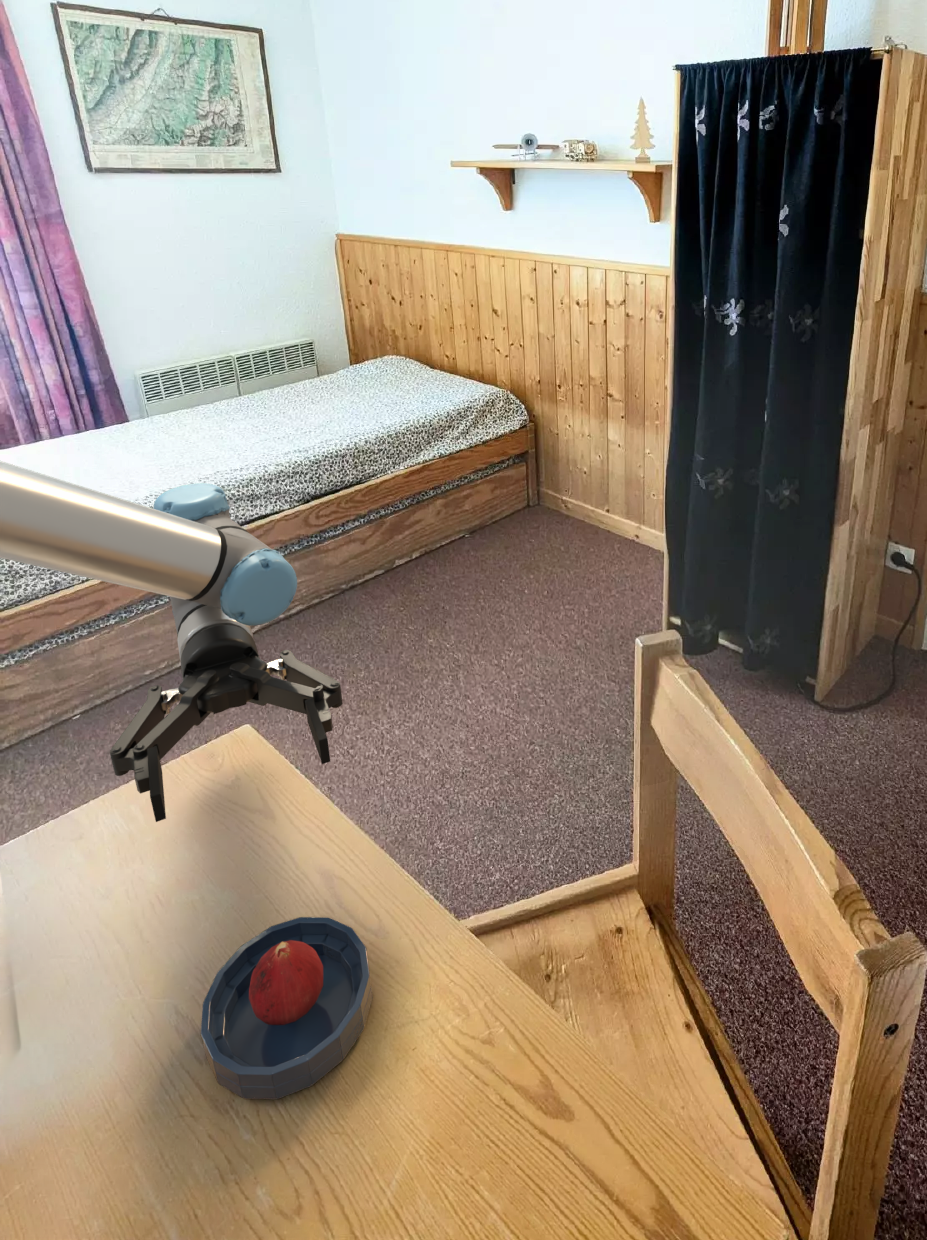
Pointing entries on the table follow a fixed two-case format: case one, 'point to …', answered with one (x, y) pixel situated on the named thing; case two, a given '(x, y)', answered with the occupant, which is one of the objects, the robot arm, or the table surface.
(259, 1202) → the table surface
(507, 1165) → the table surface
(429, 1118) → the table surface
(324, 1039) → the bowl
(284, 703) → the robot arm
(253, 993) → the red oval fruit
